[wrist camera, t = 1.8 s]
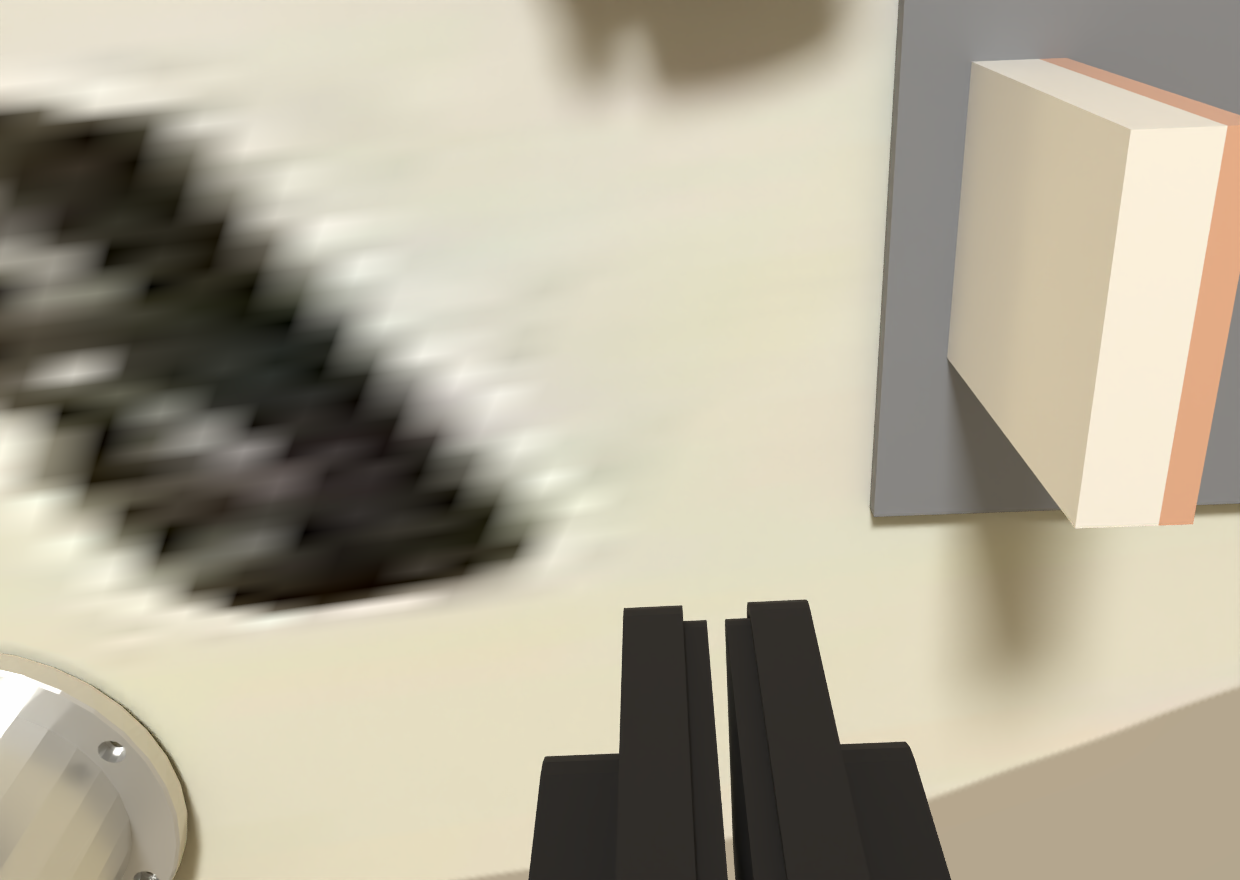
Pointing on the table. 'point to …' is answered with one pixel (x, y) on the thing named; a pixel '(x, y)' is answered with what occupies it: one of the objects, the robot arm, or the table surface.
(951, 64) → the mat
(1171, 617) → the table surface
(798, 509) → the table surface
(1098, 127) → the tile
